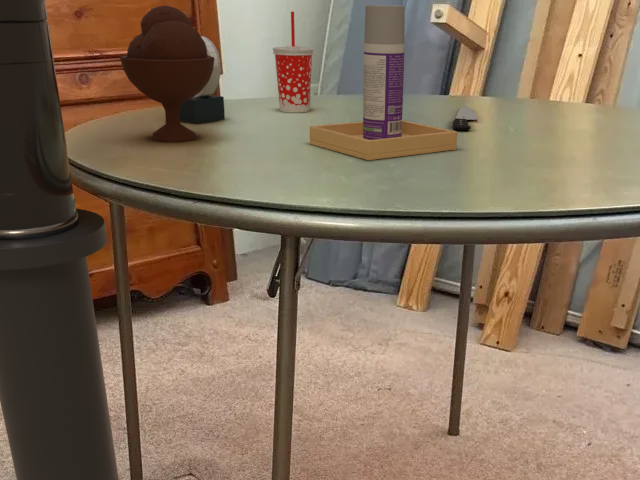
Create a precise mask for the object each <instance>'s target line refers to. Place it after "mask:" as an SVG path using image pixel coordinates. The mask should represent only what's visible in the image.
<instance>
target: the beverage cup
mask: <svg viewBox="0 0 640 480" xmlns="http://www.w3.org/2000/svg"><path fill="white" fill-rule="evenodd" d="M290 29H291V31H290V32H291V33H290V34H291V45H286V46H276V47H272V51H273V52H272V54H274V58H275V59H274V61H275V69H276V71H275V72H276V83H277V93H278V104H279V111H280V112H283V113H308V112H310V109H311V89H312V87H311V85H312V65H313V64H312V62H313V55H314V50H315V49H314V48H313V47H308V46H307V47H305V46H299V45H296V42H295V41H296V39H295V38H296V37H295V35H296V33H295V11H290Z"/></svg>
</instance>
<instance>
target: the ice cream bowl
mask: <svg viewBox="0 0 640 480" xmlns="http://www.w3.org/2000/svg"><path fill="white" fill-rule="evenodd" d="M140 30H141V31H140V32H141V33H140V34H138V35H136V36H135V37H134V38H133V39H132V40H131V41H130V42H129V44H128V48H127V50H126V51H127V53H126V54H124V55H119V61H120V64H121V66H122V71H123V72H124V74H125V75H126V77H127V79H128V81H129V83H131V84H132V85H133V86H134V87H135V88H136V89H137V90H138V91H139V92H141V93H142V94H144V95H145V96H146V97H148V98H149V99H151V100H153V101H155V102H158V103H160V104H161V105H162V108H163V109H164V113H165V114H164V115H165V124H164V125H162V126H160V127H159V128H158V129H156V130H155V131H154V132H152V135H151V139H152V140H153V141H155V142H157V141H158V142H163V143H165V142H166V143H172V142H173V143H179V142H188V141H193V140H196V139H198V137H197V134H196V133H195V131H193V130H191V129H190V128H189V127H187V126H185V125H183V124H181V123H182V122H180V115H179V109H180V106H181V103H183V102H185V101H187V100H189V99H191V98H193V97H194V96H195V95H196V94H198V93H200V92H201V90H202V89H203V88H204V87H205V85H206V84H207V83H208V82H209V80H210V77H211V75H212V72H213V66H214V57H212V56H208V55H207V48H206V44H205V42H204V40H203V39H202V37H201V36H202V35H201V34H200V32H199V31H198V30H196V29H195V28H194V27H193V24H192V21H191V19H190V18H189V17H188V16H187V14H186V13H185V12H183V11H182V10H180V9H178V8H176V7H173V6H170V5H159V6H156V7H153V8H150V10H148V11H147V13H146V14H144V15H143V17H142V18H141V20H140Z"/></svg>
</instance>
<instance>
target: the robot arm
mask: <svg viewBox="0 0 640 480" xmlns="http://www.w3.org/2000/svg"><path fill="white" fill-rule="evenodd" d="M47 11H48V10H47V5H46V0H0V240H21V239H32V238H39V237H45V236H50V235H55V234H58V233H62V232H65V231H67V230H70V229H72V228H74V227H75V226H76V225H77V224H78V223H79V220H78V213H77V211H76V209H77V208H76V206H77V205H76V204H77V203H76V198H75V195H74V187H73V183H72V181H73V180H72V176H71V168H70V161H69V154H68V147H67V140H66V133H65V126H64V121H63V120H64V119H63V114H62V113H63V112H62V107H61V100H60V94H59V86H58V79H57V72H56V67H55V60H54V52H53V46H52V38H51V32H50V25H49V21H48V12H47Z"/></svg>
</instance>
